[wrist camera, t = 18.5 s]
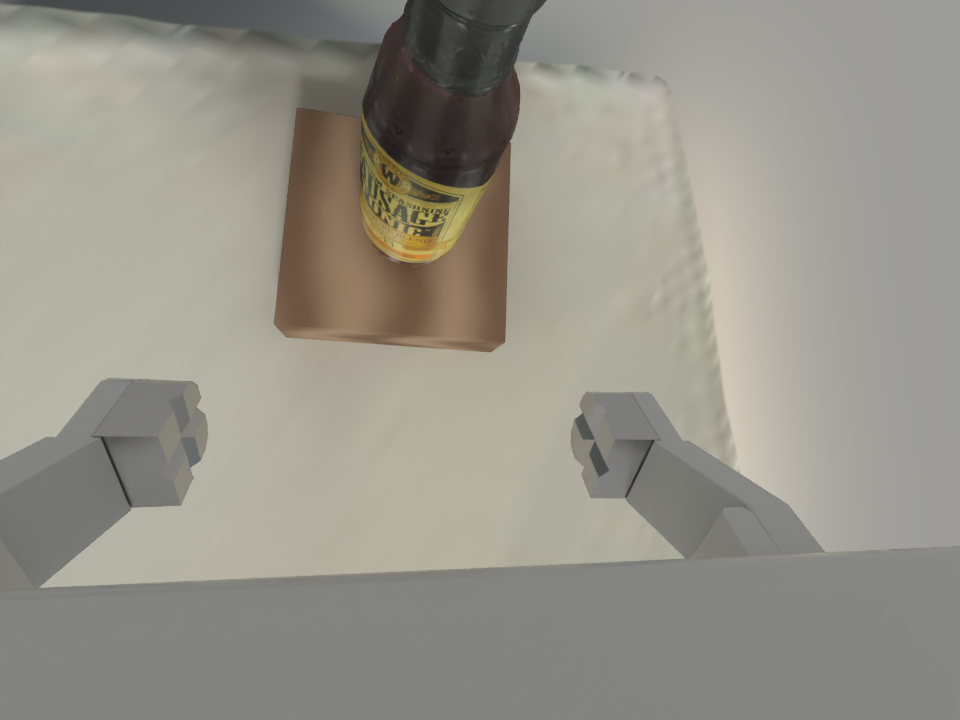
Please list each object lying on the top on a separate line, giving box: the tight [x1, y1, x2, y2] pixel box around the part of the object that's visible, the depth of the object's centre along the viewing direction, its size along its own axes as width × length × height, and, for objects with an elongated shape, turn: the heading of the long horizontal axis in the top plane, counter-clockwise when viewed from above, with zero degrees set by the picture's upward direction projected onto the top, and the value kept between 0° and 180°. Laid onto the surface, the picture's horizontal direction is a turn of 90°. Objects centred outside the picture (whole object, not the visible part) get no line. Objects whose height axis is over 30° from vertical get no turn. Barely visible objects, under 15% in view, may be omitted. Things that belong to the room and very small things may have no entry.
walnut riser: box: [274, 108, 511, 352], centre depth 33 cm, size 14×14×4 cm
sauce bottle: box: [360, 0, 546, 267], centre depth 21 cm, size 7×6×20 cm
